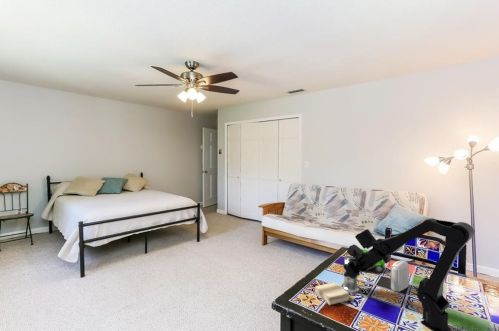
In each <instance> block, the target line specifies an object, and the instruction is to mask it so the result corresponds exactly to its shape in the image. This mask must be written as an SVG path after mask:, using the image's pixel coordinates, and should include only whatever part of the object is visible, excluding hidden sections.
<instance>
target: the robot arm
mask: <svg viewBox="0 0 499 331" xmlns="http://www.w3.org/2000/svg"><path fill="white" fill-rule="evenodd" d="M429 232H432V233H434V234H436V235H439V236H441V237H445V240H444V247H443V250H442V251H441V254H440V256H439V257H438V259H437V262H436V264H435V266H434V268H433V270H432V272H431V274H430V276H429V277H428V276H425V277H424V278H423V279H421V280H420V281H419V284H418V287H417V289H415V292H416V297H417V299H418V300H419V302H420V304H421V307H422V320H421V321H420V323H421V324H422V325H423V326H425V327H427V328H428V329H429V330H431V331H451V330H452V327H450V326H449V313H448V312H447V311H446V310H447V309H448V308H449V306H450V303H449V301H448V300H447V298H445V297H444V295H443V292H444V284H445V281H446V279H447V277H448V275H449V274H450V273H449V272H450V271H451V269H452V267H453V265H454V264H455V261H456V260H457V258H458V255H459V253H460V252H461V250H462V249H463V248H464V246H465V245H467V244H468V243H469V241H470V240H471V239H472V238H473V237H474V235H475V230H474V228H473V226H472V225H471V224H469V223H468V222H465V221H459V222H454V221H447V220H440V219H437V218H433V217H430V218H426V219H424V220H423V221H422V222H420V223H418V224H417V225H415V226H413V227H412V228H409V229H407V230H405V231H404V232H402V233H400V234H397V235H394V236H390V237H387V238H377V239H376V237H374V235H373V234H372V232H371V231H370V230H369V228H367V229H364V230H363V231H361V232H359V233H357V234H356V235H355V236H354V238H355V239H356V240H357V242H358V244H359V245H360V246H361V247H362V248H361V247H359V246H358V245H357V244H352V245H350V246H348V248H346V253H347V254H348V256H350V257H354V258H355V259H354V260H355V262H356V263H355V265H357V266H355V265H354V263H353V262H348V263H346V264H343V266H342V267H343V268H344V269H345V270H346V272H345V273H343V277H344V276H345V277H350V278H351V279H354V278H356V277H357V278H358V277H359V276H361V274H360V273H366V272H365V271H367V272H368V271H370V270H372V269H374V267H375V266H376V264H378V263H379V262H380V261H382V260H383V261H384V264H388V263H390V262H392V261H391V255H392V254H394V253H396V252H398V251H399V250H401V249H402V248H403V247H404V246H405V245H406V244H408V243H410V242H412V241H413V240H416V239H417V238H419V237H421V236H423V235H425V234H427V233H429ZM370 248H371V249H370ZM362 249H364V250H368V251H367V252H364V251H363V250H362Z"/></svg>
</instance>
